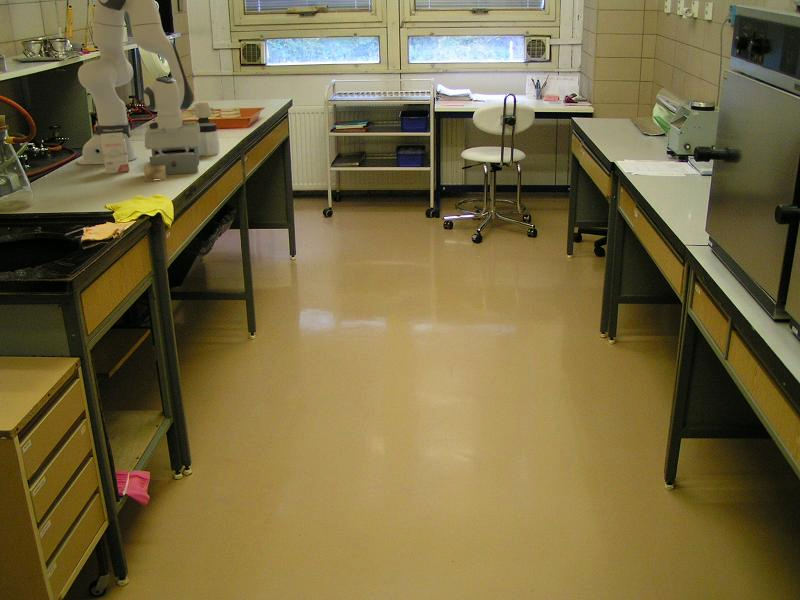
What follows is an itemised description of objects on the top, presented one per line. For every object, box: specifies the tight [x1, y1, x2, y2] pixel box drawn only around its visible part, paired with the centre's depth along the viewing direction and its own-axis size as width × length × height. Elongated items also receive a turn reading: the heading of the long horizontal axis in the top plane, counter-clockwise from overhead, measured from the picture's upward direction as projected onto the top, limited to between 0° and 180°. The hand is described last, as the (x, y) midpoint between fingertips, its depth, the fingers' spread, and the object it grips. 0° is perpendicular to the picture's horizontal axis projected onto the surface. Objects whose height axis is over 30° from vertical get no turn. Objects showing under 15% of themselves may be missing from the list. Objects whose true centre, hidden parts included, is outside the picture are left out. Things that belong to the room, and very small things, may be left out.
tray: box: [149, 152, 199, 175], centre depth 320 cm, size 17×17×7 cm
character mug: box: [190, 102, 215, 124], centre depth 404 cm, size 11×7×13 cm, turn 92°
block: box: [143, 165, 167, 181], centre depth 307 cm, size 7×7×4 cm
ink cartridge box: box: [100, 132, 130, 174], centre depth 319 cm, size 9×5×15 cm, turn 105°
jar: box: [198, 122, 221, 157], centre depth 349 cm, size 9×8×12 cm
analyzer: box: [150, 146, 200, 166], centre depth 334 cm, size 17×16×8 cm
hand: (174, 159), depth 321 cm, fingers closed on puck, 6 cm apart
